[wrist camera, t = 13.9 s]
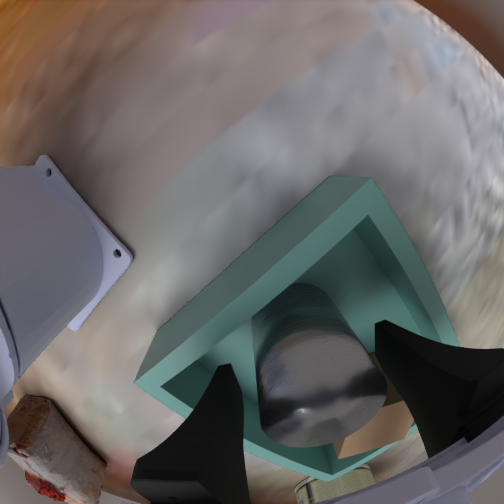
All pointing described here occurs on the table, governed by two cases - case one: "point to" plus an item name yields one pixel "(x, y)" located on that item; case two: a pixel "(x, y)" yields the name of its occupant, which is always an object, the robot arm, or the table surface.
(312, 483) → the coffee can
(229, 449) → the robot arm
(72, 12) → the table surface
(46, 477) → the food item
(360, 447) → the walnut cube
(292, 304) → the metal cylinder
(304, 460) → the tote
